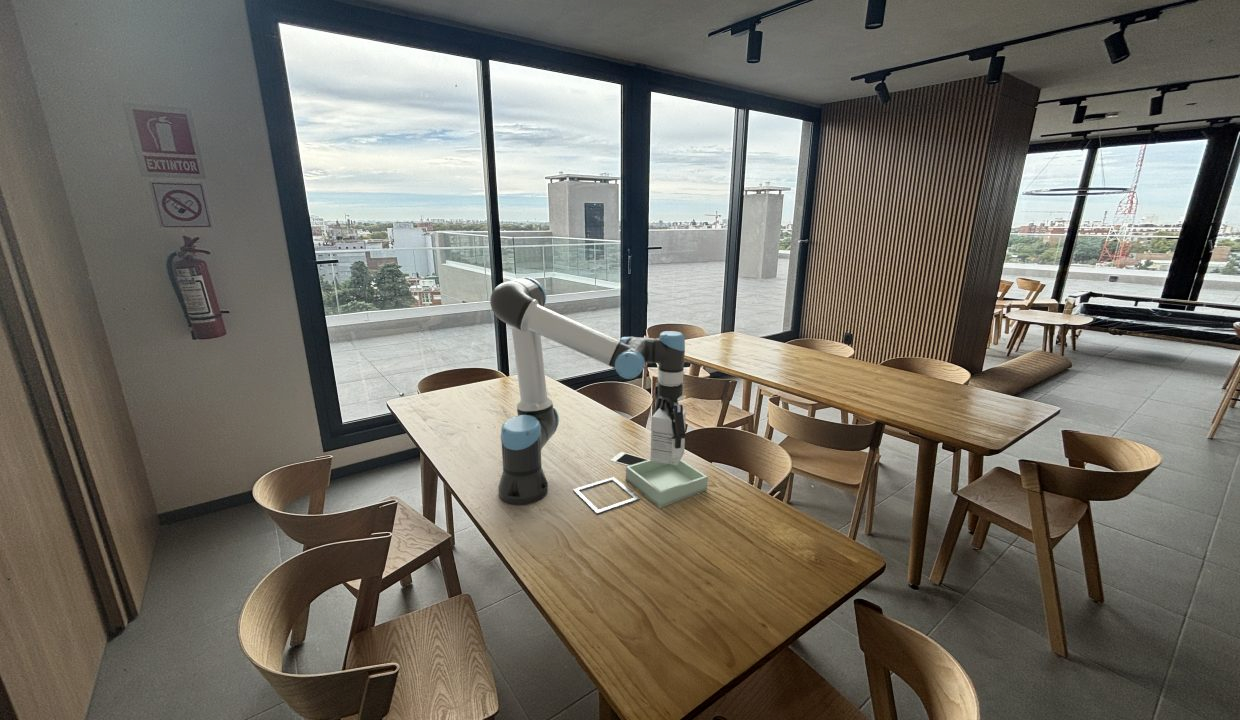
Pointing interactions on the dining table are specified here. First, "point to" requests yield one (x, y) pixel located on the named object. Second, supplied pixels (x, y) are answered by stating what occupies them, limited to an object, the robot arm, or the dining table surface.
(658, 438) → the supplement box
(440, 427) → the dining table surface
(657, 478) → the bin
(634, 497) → the white square frame
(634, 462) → the cell phone
